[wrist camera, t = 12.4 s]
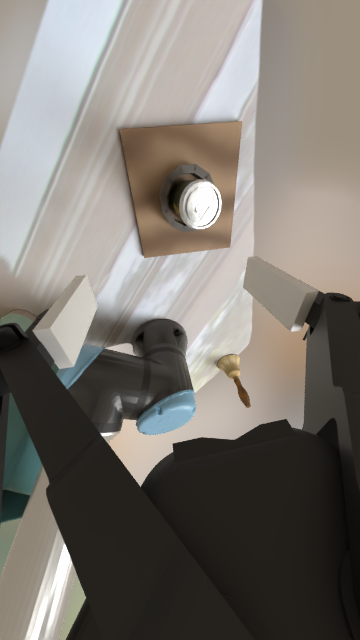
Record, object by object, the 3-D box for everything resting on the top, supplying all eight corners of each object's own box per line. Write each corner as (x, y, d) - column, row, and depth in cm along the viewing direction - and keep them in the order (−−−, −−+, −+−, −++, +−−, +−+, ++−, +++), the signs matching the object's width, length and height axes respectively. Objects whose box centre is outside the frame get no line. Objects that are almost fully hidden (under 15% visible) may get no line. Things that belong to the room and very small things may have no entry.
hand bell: (236, 368, 66) (257, 411, 53) (215, 370, 65) (232, 415, 52) (242, 353, 61) (267, 396, 49) (219, 355, 60) (239, 400, 47)
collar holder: (228, 245, 38) (235, 251, 35) (144, 256, 37) (144, 262, 34) (239, 123, 27) (251, 114, 24) (120, 131, 26) (116, 123, 23)
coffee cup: (-9, 305, 38) (-60, 345, 28) (35, 302, 39) (0, 340, 30) (13, 335, 43) (-23, 377, 34) (51, 332, 44) (26, 372, 35)
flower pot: (100, 388, 61) (74, 506, 38) (42, 402, 60) (-19, 529, 38) (68, 349, 48) (3, 489, 26) (-5, 366, 48) (-136, 523, 25)
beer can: (184, 172, 29) (204, 165, 19) (205, 200, 32) (231, 206, 22) (162, 200, 31) (171, 207, 21) (184, 224, 33) (200, 240, 24)
